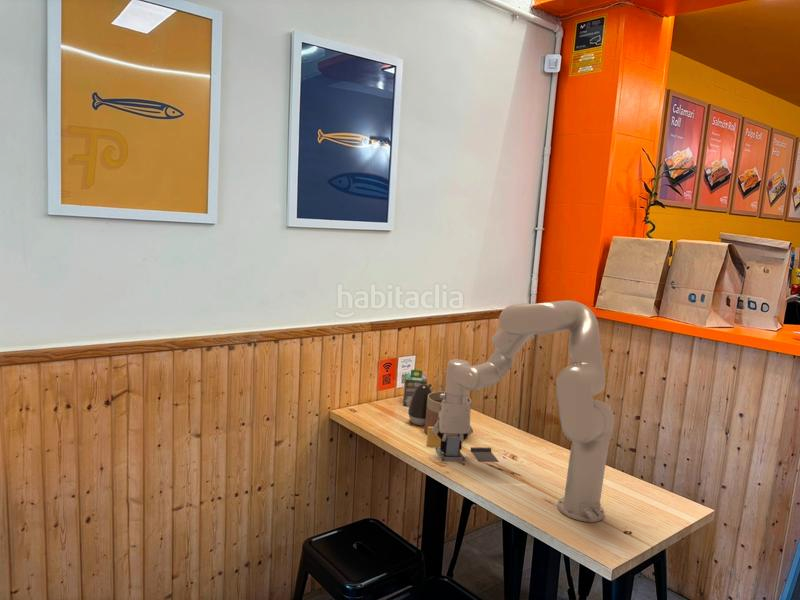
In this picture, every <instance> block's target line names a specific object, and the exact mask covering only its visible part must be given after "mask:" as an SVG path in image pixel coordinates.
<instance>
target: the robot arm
mask: <svg viewBox="0 0 800 600" xmlns="http://www.w3.org/2000/svg"><path fill="white" fill-rule="evenodd" d="M498 324H499V328H498V329H497V331H496V332H495V334H494V335H493V336H492V338H491V343H492V345H493V346H494V348H495V350H494V352H493V353H492V354H491V356H490V357H489V358H488V359H487V360H486V361H485V362H484V363H480V364H476V365H471V363H470V362H469V361H467V360H465V359H459V358H458V359H457V358H456V359H455V358H454V359H449V361H448V363H447V368H446V374H445V375H446V376H445V388H444V394H440V398H443V399H444V400H442V402H441V406H440V409H439V414H438V420H437V423H436V424H435V425H434V427H433V428H432V432H433V433H435V434H436V435H438V436H439V437H440V439H441V445H440V448H441V450H442V451H443V452H442V454H445V453H446V445H447V442H446V437H447V434H458V436H459V437H460V443H459V453H460V452H461V450H462V445H463V444H462V443H463V442H464V441H465V439H467V438H466V437H469V436H470V435H471V434H473V433H474V429H473V428H472V426H471V411H470V404H469V403H468V402H467V399H468V396H469V391H472V392H473V391H474V392H475V391H478V390H483V389H486V388H488V387H489V388H490V387H493V386H494V385H497V383H499V382H500V381H501V379H503V377H504V376H505V375H506V374H507V373H508V372H509V370H510V369H511V367H512V366H513V364H514V361H515V358H516V354H517V353H518V352H519V351H520V350H521V349H522V347H523V346H524V345H525V344H526V343H527V341H528V340H529V339H530V338H531V337H532V335H550V334H556V333H560V332H561V333H562V332H565V331H567V332H568V333H569V340H568V352H569V365H567V366H566V367H564V368H563V369H562V370H561V371H560V372H559V373H558V375H557V379H556V385H555V388H556V389H555V390H556V397H557V405H558V415H559V422H560V427H561V430H562V432H563V434H564V435H565V437H566V438H567V439H568V440H569V441H571V445H570V451H569V459H568V466H567V473H566V481H565V489H564V496H563V497H561V498H559V499H558V501H557V504H556V505H557V509H558V511H559V512H561V513H562V514H563V515H565V516H566V517H568V518H570V519H574V520H577V521H580V522H585V523H586V522H587V523H596V522H599V521H602V520H604V518H605V514H606V513H605V510H604V507H602V506H601V498H602V492H603V484H604V477H605V471H606V463H607V457H608V451H609V446H610V442H611V439H612V435H613V431H614V427H615V426H614V425H615V415H614V412H613V410H612V408H611V406H610V405H609V404H607V403H606V402H604V401H602V400H599V399H593V397H595V396H597V395H598V394H600V393H601V392H603V390H604V389H605V386H606V373H605V367H604V356H603V351H602V344H601V336H600V326H599V322H598V319H597V317H596V314H595V313H594V312H593V311H592V310H591V309H590V308H589V307H588V306H587V305H585V304H583V303H581V302H578V301H576V300H556V301H550V302H549V301H548V302H538V303H517V304H511V305H508V306H506V307H505V308H503V309H502V310H501V313H500V314H499V318H498ZM438 428H439V430H440V431H438ZM440 432H441V433H440Z"/></svg>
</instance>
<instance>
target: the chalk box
mask: <svg viewBox="0 0 800 600" xmlns="http://www.w3.org/2000/svg"><path fill="white" fill-rule="evenodd" d="M416 373H418V374H416ZM421 384H426V385H428V380H427V375H426V374H423V370H422V369H411V370H410V373H406V374H404V383H403V396H402V397H403V399H402V402H403V407H409V405H410V401H411V399H412V396H413V394H414V392H415V390H416V388H417V387H418V386H419V385H421Z"/></svg>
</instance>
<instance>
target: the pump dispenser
mask: <svg viewBox="0 0 800 600" xmlns="http://www.w3.org/2000/svg"><path fill="white" fill-rule="evenodd" d="M431 387H432V384H431V383H429V384H427V385H426V384H421V385H419V386H418V387H417V388H416V390H415V392H414V394H413V396H412V399H411V401H410V405H409V406H408V409H407V415H408V417H409V420H410V421H411V422H412V423H413V424H415V425H417V426H422V427H423V426H425V418H426V408H427V398H428V394H430V393H432V392H433V391H432V389H431Z"/></svg>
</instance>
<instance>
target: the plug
mask: <svg viewBox="0 0 800 600" xmlns="http://www.w3.org/2000/svg"><path fill="white" fill-rule="evenodd" d="M446 442H447V445H446V453H444V455H445V457H458V453H459V443H460V437H459V436H458V434H447V437H446Z"/></svg>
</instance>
